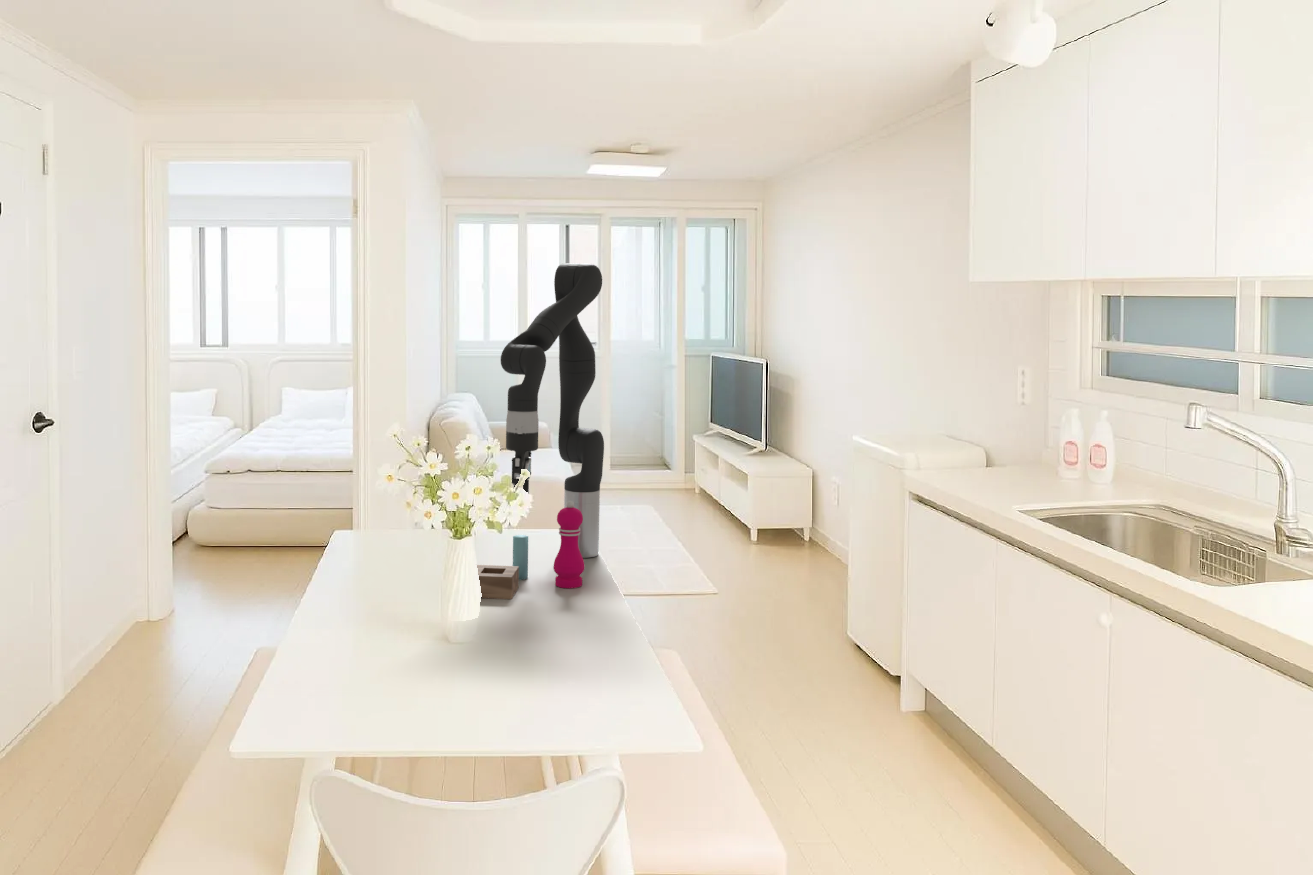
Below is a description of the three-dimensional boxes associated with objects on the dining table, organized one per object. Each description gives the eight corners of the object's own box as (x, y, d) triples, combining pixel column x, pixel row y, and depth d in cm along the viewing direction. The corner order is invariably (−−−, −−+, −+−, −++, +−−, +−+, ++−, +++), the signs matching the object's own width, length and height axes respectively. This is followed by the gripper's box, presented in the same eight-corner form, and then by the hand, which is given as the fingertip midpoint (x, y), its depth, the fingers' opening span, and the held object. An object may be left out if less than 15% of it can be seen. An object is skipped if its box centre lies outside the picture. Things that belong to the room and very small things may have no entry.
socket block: (475, 585, 253) (475, 564, 252) (518, 587, 252) (518, 566, 252) (466, 597, 243) (466, 575, 242) (511, 599, 242) (511, 577, 242)
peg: (513, 575, 263) (514, 534, 262) (528, 576, 263) (529, 535, 262) (511, 579, 260) (511, 537, 258) (526, 579, 260) (527, 538, 258)
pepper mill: (586, 581, 259) (588, 498, 257) (581, 589, 252) (583, 504, 249) (556, 580, 260) (557, 497, 257) (550, 588, 253) (551, 502, 250)
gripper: (511, 426, 264) (510, 492, 266) (501, 432, 250) (500, 502, 252) (542, 427, 264) (541, 493, 266) (533, 433, 250) (532, 503, 252)
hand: (521, 497), depth 259 cm, fingers open, 8 cm apart
